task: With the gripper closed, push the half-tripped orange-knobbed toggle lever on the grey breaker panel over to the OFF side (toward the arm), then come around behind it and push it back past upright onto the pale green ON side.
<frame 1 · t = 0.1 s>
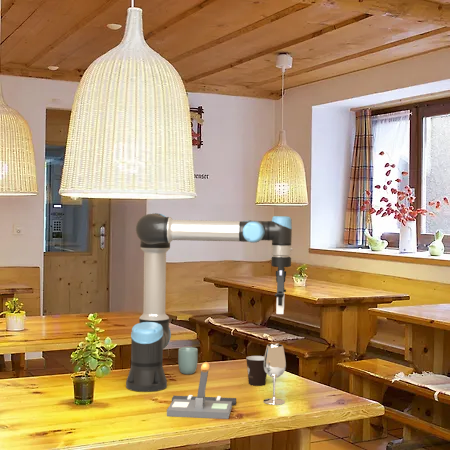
hand: (280, 311, 290), 28 cm above the table, fingers open, 13 cm apart
cup: (187, 373, 305), on the table
breaker panel: (200, 411, 250), on the table
dressed cords: (204, 402, 260), on the table
breaker lever: (203, 382, 249), point 10 cm above the table, hinge at 8.0°
wineglass: (273, 402, 263), on the table
coffee mug: (257, 383, 291), on the table
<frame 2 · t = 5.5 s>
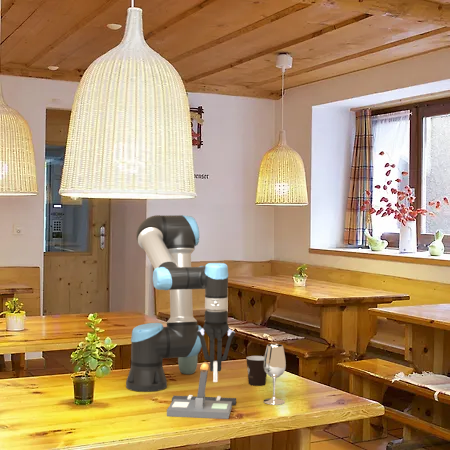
hand: (215, 381, 249), 10 cm above the table, fingers closed
breaker lever: (202, 382, 249), point 10 cm above the table, hinge at 7.1°, touching gripper
everything else where it was.
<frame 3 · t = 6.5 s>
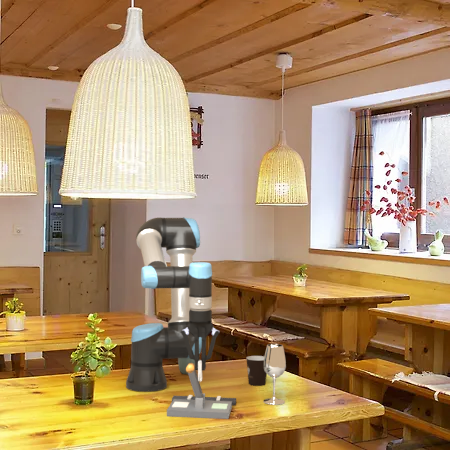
hand: (200, 380, 249), 10 cm above the table, fingers closed
breaker lever: (195, 382, 249), point 10 cm above the table, hinge at -18.0°, touching gripper
everything else where it was.
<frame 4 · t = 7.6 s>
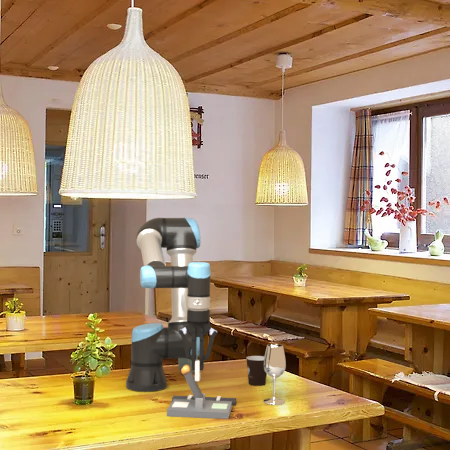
hand: (197, 380, 249), 11 cm above the table, fingers closed
breaker lever: (192, 383, 250), point 9 cm above the table, hinge at -26.7°
everything else where it was.
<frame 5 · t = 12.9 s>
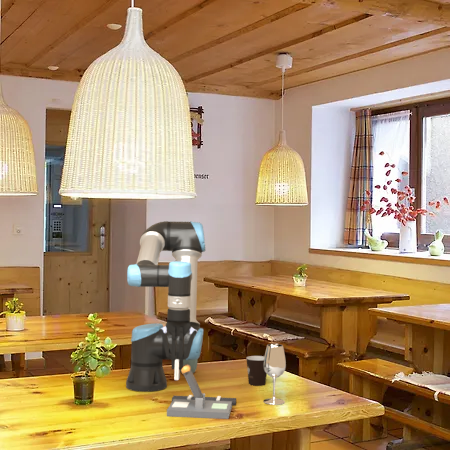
hand: (177, 379, 250), 11 cm above the table, fingers closed
breaker lever: (192, 383, 250), point 9 cm above the table, hinge at -26.3°, touching gripper
everything else where it was.
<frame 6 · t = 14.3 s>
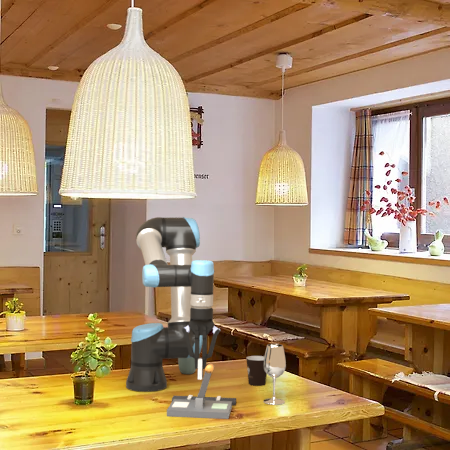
hand: (200, 378, 248), 11 cm above the table, fingers closed
breaker lever: (205, 383, 249), point 10 cm above the table, hinge at 15.6°, touching gripper
everything else where it was.
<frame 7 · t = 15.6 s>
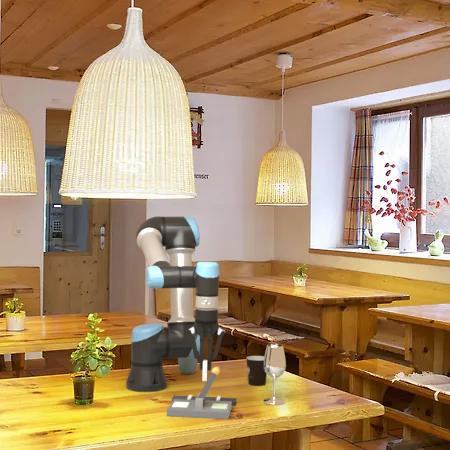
hand: (205, 380, 248), 11 cm above the table, fingers closed
breaker lever: (208, 384, 249), point 9 cm above the table, hinge at 27.3°, touching gripper
everything else where it was.
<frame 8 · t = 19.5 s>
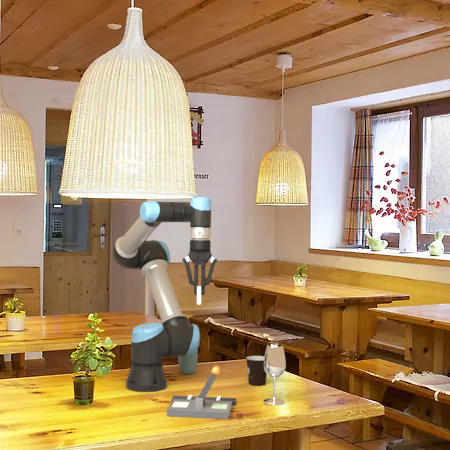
hand: (199, 304, 274), 32 cm above the table, fingers closed
breaker lever: (208, 384, 249), point 9 cm above the table, hinge at 27.3°
everything else where it was.
at the end: breaker lever at +27° (first picture: +8°) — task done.
